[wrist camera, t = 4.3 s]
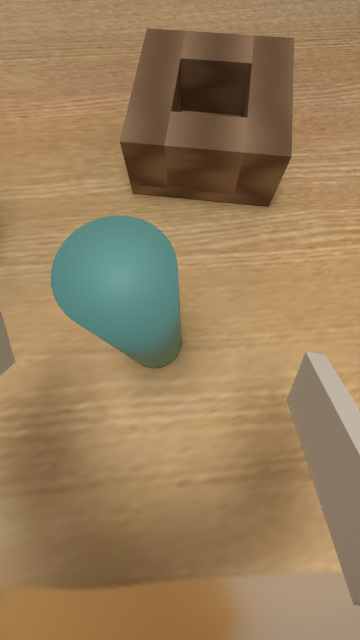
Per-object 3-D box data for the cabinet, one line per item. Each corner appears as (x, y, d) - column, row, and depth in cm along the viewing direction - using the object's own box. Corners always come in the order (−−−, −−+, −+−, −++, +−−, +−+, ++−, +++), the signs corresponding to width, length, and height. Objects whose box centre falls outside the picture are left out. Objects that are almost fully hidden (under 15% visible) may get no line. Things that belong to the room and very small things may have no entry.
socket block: (133, 193, 23) (119, 141, 19) (153, 94, 27) (147, 28, 22) (268, 206, 23) (291, 156, 18) (273, 103, 26) (294, 38, 21)
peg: (124, 364, 19) (36, 323, 8) (133, 312, 20) (67, 210, 9) (177, 371, 19) (168, 339, 8) (184, 319, 20) (185, 221, 9)
